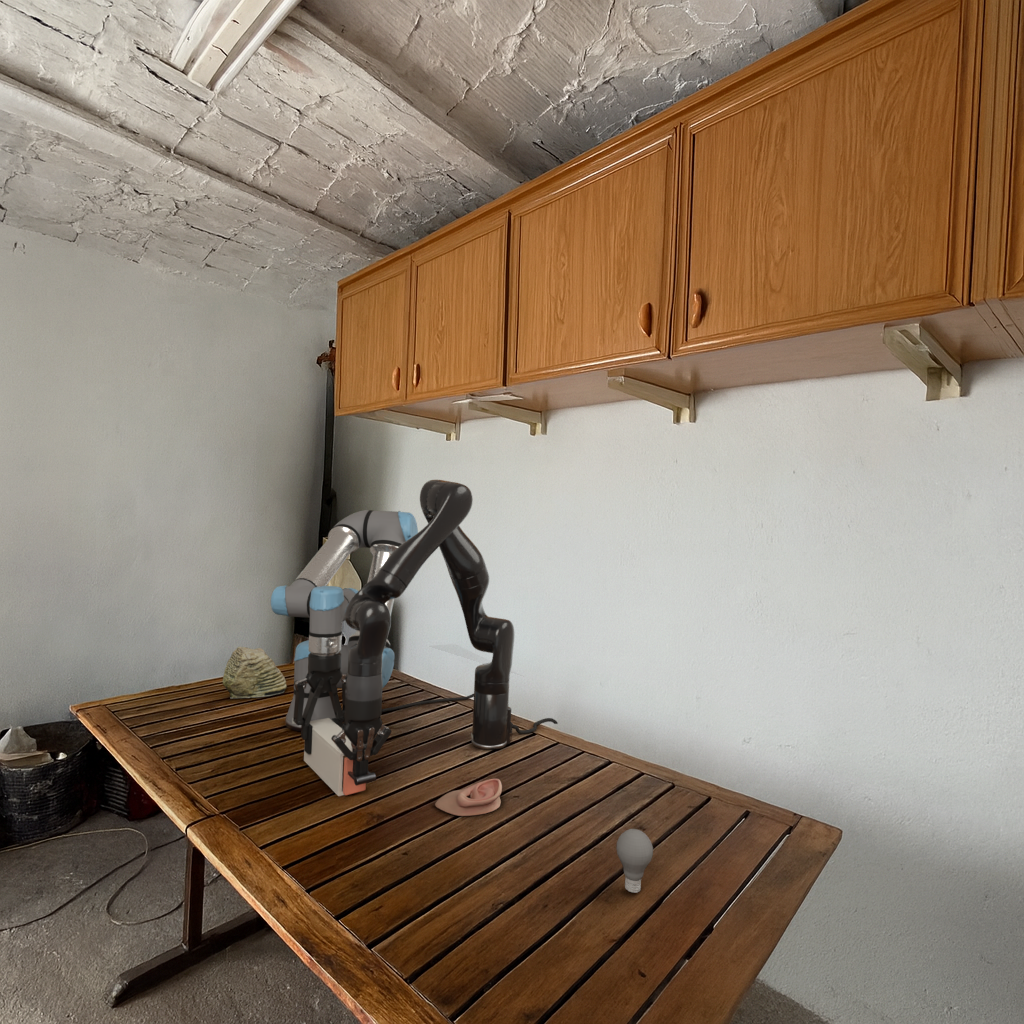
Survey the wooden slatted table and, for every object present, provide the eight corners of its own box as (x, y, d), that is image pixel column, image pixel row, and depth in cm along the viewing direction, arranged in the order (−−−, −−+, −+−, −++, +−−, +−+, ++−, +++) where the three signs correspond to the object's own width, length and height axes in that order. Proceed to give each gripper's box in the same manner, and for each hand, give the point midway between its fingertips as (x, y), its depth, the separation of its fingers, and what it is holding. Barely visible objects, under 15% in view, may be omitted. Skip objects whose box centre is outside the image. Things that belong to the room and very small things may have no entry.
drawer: (376, 800, 132) (377, 764, 131) (355, 806, 129) (356, 769, 129) (329, 756, 152) (330, 725, 152) (310, 760, 149) (312, 729, 149)
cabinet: (364, 789, 138) (365, 747, 138) (338, 796, 134) (340, 753, 134) (327, 755, 155) (328, 717, 155) (303, 760, 151) (305, 722, 151)
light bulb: (610, 879, 108) (613, 822, 108) (644, 879, 109) (647, 822, 109) (619, 902, 102) (622, 840, 102) (655, 901, 103) (658, 840, 103)
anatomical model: (430, 792, 129) (447, 769, 140) (429, 811, 129) (446, 787, 140) (494, 801, 126) (506, 777, 137) (493, 821, 126) (505, 795, 138)
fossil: (218, 695, 195) (220, 647, 195) (278, 685, 208) (279, 640, 207) (228, 703, 189) (230, 653, 188) (289, 692, 201) (290, 645, 201)
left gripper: (290, 660, 141) (286, 763, 142) (368, 651, 153) (365, 746, 153) (279, 653, 147) (276, 752, 148) (356, 644, 159) (352, 736, 159)
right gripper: (340, 703, 125) (336, 791, 125) (400, 694, 133) (396, 776, 133) (326, 693, 131) (322, 777, 131) (384, 685, 139) (381, 763, 139)
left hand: (321, 749), depth 150 cm, fingers closed on cabinet, 6 cm apart
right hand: (360, 776), depth 132 cm, fingers closed
